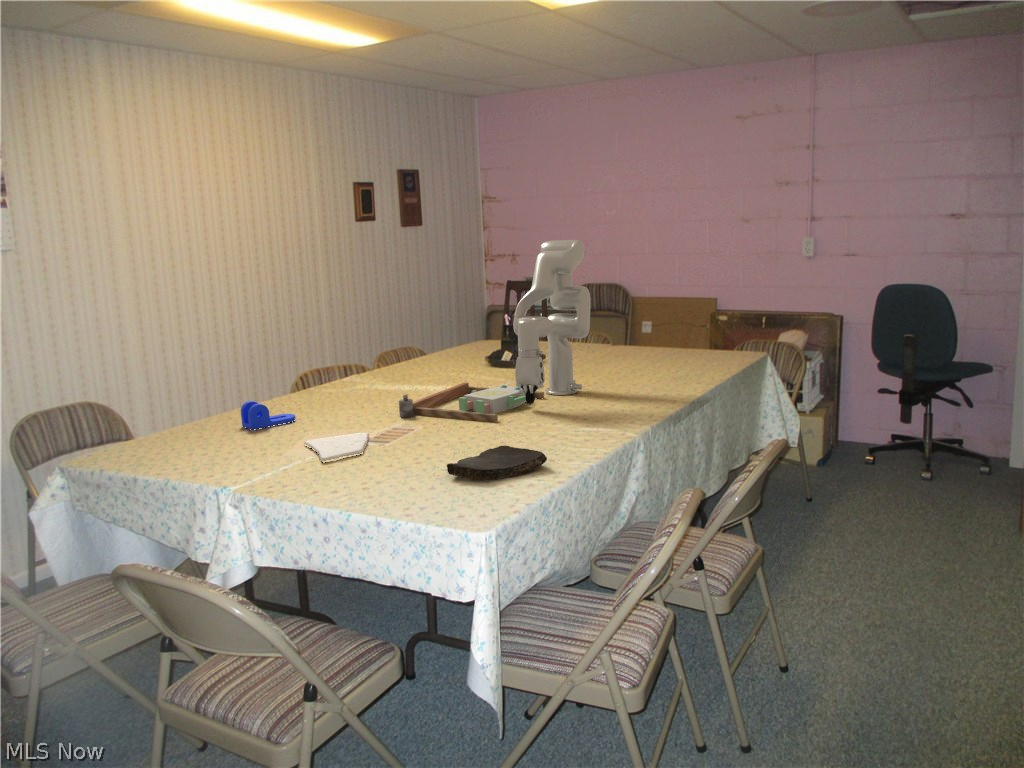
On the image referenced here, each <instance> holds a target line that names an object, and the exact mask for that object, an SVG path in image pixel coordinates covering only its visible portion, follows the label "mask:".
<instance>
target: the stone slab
mask: <svg viewBox="0 0 1024 768" xmlns="http://www.w3.org/2000/svg"><path fill="white" fill-rule="evenodd" d="M547 460H548V458H547V456H546V455H545V453H544V452H542V451H538V450H534V449H529V448H521V447H520V448H519V447H513V446H509V445H506V444H505V445H499V446H496V447H493V448H487V449H486V450H484V451H481V452H480V453H479V455H476V456H470V457H465V458H461V459H459V460H458V461H457V463H456V462H455V463H452V462H450V463H447V464H446V468H447V469H446V471H447V473H448V475H449V476H451V475H452V476H455V477H460V478H464V479H465V478H466V479H470V480H475V481H477V480H480V481H484V480H494V479H504V478H508V477H516V476H520V475H522V474H525V473H528V472H531V471H533V470H535V469H537V468H539V467H541V466H542V465H544V464H545V463H546V462H547Z"/></svg>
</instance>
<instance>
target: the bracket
mask: <svg viewBox="0 0 1024 768" xmlns="http://www.w3.org/2000/svg"><path fill="white" fill-rule="evenodd" d="M240 416H241V417H240V418H241V419H240V420H241V427H242V426H243V427H242V428H244V427H246V428H248V429H251V430H254V429H259V428H264V427H268V426H273V425H278V424H283V423H288V422H292V421H294V420H295V419H296V414H294V413H281V414H275V415H270V410H269V408H268V407H267V406H266V405H265V404H262V403H258V402H256V401H253V400H248V401H245V402H244V403H243V404H242V406H241V407H240ZM246 428H245V429H246ZM248 429H247V430H248ZM251 430H250V431H251Z"/></svg>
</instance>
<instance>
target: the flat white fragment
mask: <svg viewBox="0 0 1024 768" xmlns="http://www.w3.org/2000/svg"><path fill="white" fill-rule="evenodd" d="M368 437H369V438H370V433H369V432H355V433H348V434H342V435H334V436H327V437H321V438H312V439H307V440H305V441H304V444H306V445H308V446H309V447H311V448H313V449H314V450H315V451H316V452H317V453H318V454H319V455H318V454H317V453H316V452H315V453H316V454H317V455H318V457H319V456H320V458H319V459H320V462H321V461H326V460H331V459H335V458H339V457H343V456H349V455H354V454H360V453H362V452H363V451H364V452H365V449H366V448H365V446H366V444H367V442H368V441H369V439H368ZM367 445H368V444H367ZM366 447H367V446H366ZM364 448H365V449H364Z"/></svg>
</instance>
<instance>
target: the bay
mask: <svg viewBox="0 0 1024 768" xmlns="http://www.w3.org/2000/svg"><path fill="white" fill-rule="evenodd" d="M469 383H470V382H461V383H459V384H457V385H455V386H452V387H449V388H446V389H444V390H441V391H439V392H436V393H433V394H431V395H428V396H427V395H426V397H422V398H420V399H417V400H413V399H412V398H409V396H408V394H406V393H405V394H403V395H402V397H403V398H402V399H399V400H398V408H399V409H398V410H399V411H398V412H399V418H400V417H401V418H400V419H409V418H413V417H414V415H415V416H423V417H424V416H425V417H434V418H444V419H445V418H446V419H454V420H463V421H464V420H466V421H474V420H475V421H477V422H485V421H486V422H487V423H497V422H499V421H498V419H499V418H498V413H496V414H490V413H479V412H476V411H469V410H467V411H461V410H455V409H454V410H453V409H443V408H434V407H436V406H439V405H441V404H444V403H446V402H448V401H451V400H454V399H456V398H460V397H462V396H464V395H467V394H468V393H471V391H473V390H476V391H477V392H478V391H481V390H485V389H489V388H490V387H484V386H483V387H482V386H470V385H469ZM535 398H539V399H538V400H543V399H542V398H544V399H545V392H544V391H538V390H536V392H535ZM486 422H485V423H486Z"/></svg>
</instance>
